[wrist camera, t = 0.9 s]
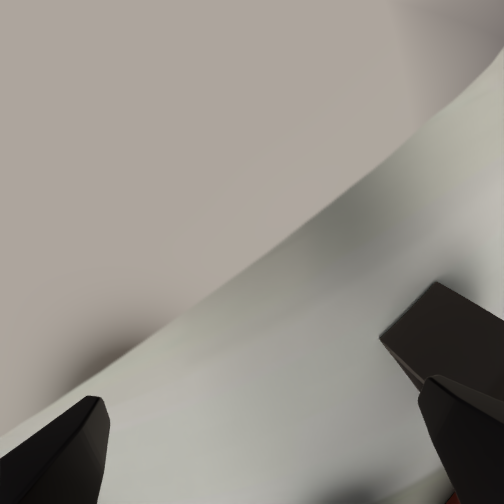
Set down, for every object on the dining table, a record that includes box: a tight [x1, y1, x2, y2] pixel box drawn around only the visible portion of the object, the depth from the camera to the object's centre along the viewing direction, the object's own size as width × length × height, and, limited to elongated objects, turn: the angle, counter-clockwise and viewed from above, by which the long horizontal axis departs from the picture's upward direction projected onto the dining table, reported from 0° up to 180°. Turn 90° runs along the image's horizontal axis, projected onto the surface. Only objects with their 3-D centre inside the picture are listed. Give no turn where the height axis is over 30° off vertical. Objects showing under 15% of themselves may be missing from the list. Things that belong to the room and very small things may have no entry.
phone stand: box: [380, 282, 504, 402], centre depth 15 cm, size 9×6×12 cm, turn 41°
